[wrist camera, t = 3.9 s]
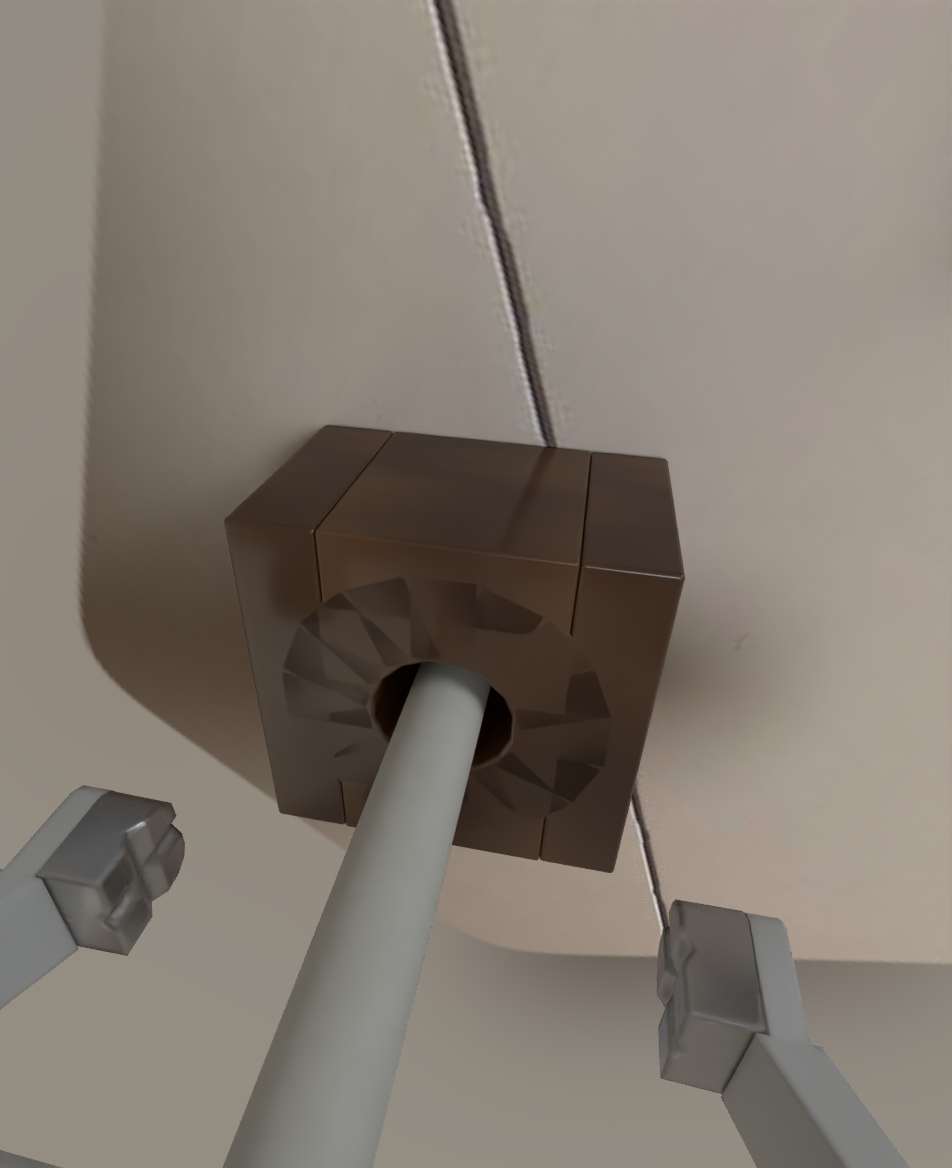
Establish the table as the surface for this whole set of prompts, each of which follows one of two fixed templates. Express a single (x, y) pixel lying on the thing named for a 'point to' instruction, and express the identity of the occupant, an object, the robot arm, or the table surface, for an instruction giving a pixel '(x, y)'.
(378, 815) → the stylus
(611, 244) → the table surface
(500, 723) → the pen block
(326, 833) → the table surface
